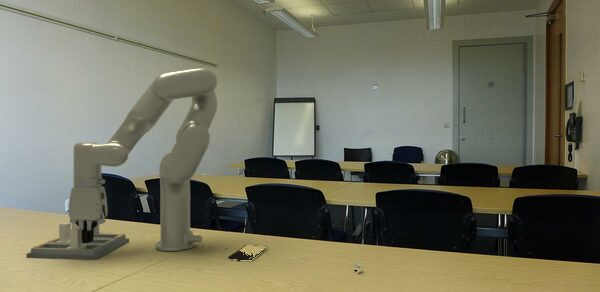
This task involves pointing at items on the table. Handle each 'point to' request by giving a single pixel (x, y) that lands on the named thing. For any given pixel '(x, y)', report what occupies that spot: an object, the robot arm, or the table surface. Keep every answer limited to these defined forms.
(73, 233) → the left tab
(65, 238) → the middle tab
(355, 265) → the adhesive hook
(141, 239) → the table surface
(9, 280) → the table surface
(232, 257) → the phone
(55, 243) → the switch bank
